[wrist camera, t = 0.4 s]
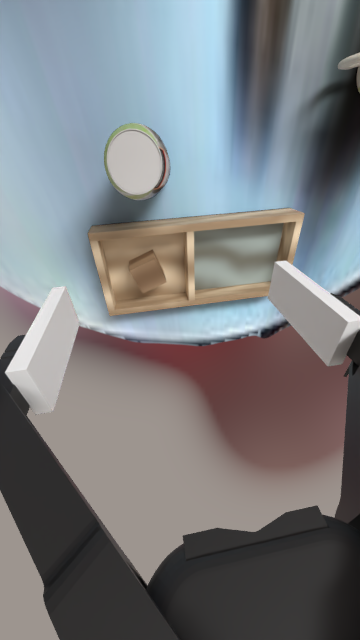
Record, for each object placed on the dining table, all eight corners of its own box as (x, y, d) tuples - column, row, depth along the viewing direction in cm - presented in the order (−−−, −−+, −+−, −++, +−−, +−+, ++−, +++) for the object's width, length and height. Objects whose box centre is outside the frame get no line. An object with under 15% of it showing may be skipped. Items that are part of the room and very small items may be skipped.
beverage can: (161, 198, 34) (172, 218, 24) (107, 179, 31) (96, 193, 22) (175, 146, 30) (195, 145, 21) (116, 121, 28) (107, 106, 18)
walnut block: (129, 260, 37) (129, 271, 34) (152, 249, 36) (154, 258, 33) (141, 281, 39) (142, 293, 36) (163, 271, 39) (166, 282, 36)
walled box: (91, 225, 34) (87, 233, 31) (289, 207, 37) (304, 213, 34) (111, 303, 42) (109, 315, 39) (274, 283, 45) (285, 293, 42)
